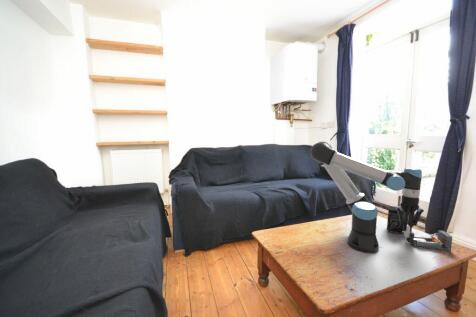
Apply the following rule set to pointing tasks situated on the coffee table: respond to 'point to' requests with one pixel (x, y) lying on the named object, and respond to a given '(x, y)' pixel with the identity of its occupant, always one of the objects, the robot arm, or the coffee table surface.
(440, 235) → the gauge body
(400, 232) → the camera
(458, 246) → the coffee table surface
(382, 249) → the coffee table surface
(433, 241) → the orange upright plank
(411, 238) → the plunger
